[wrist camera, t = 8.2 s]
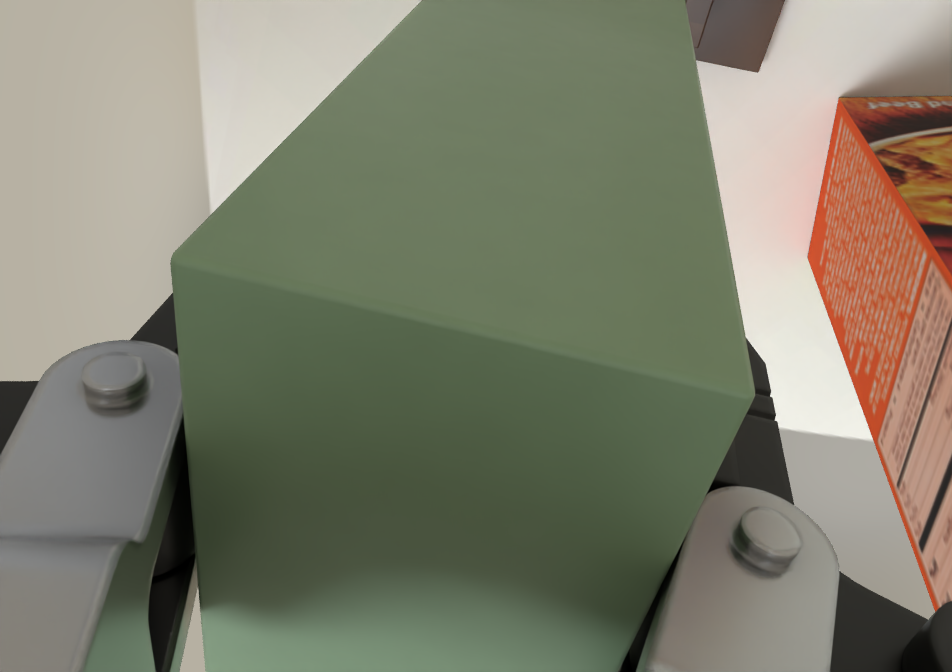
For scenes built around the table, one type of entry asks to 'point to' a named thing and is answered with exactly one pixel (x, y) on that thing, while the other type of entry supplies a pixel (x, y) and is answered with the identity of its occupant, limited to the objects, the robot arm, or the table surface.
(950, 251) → the pasta box
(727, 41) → the slot tray
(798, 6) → the table surface
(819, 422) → the table surface
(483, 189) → the green block
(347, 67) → the table surface
